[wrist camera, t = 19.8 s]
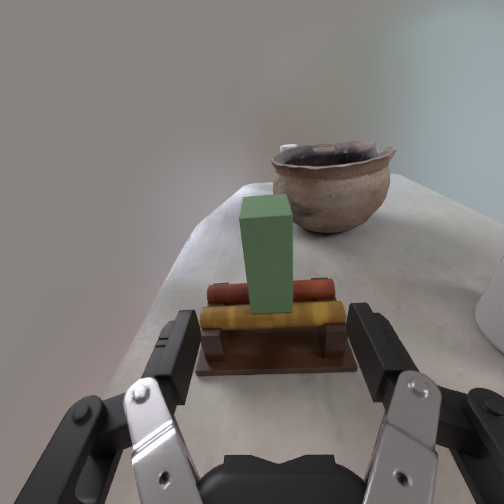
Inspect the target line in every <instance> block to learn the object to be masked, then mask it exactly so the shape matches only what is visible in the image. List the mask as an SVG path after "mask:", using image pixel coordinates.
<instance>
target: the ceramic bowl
mask: <svg viewBox="0 0 504 504" xmlns="http://www.w3.org/2000/svg"><path fill="white" fill-rule="evenodd" d="M395 152H396V150H395V148H393V147H392V146H391V147H387V148H386V149H385V150H384V151H383V152H382V153H379V150H378V146H377V143H370V142H347V143H336V144H319V145H305V146H300V147H296V148H291V149H288V150H285V151H282V152H280V153H278V154H276V155H274V156H273V157H272V158H271V162H272V165H273V166H274V168H275V170H276V171H275V175H274V180H273V193H274V195H277V194H286V195H287V198H288V201H289V205H290V208H291V211H292V215H293V222H294V223H295V224H297V225H298V226H300V227H302V228H304V229H307V230H310V231H314V232H323V233H336V232H343V231H347V230H349V229H352V228H354V227H356V226H358V225H360V224H362V223H364V222H365V221H367V219H368V218H369V217H370V216H371V215H372V214H373V213H374V212H375V211H376V210H377V209H378V208H379V207H380V206H381V205H382V203H383V201H384V200H385V198H386V195H387V191H388V188H389V184H390V173H389V167H388V165H389V162H390V160H391V159H392V157H393V155H394V153H395Z"/></svg>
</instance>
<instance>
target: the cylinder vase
mask: <svg viewBox="0 0 504 504" xmlns="http://www.w3.org/2000/svg"><path fill="white" fill-rule="evenodd" d="M475 318H476V322H477V324H478V326H479V328H480V330H481V331H482V333H483V334H484V336H485V337H486V338H487V339H488V340H489V341H490V342H491V343H492V344H493V345H494V346H495V347H496V348H497V349H498V350H499V351H500V352H502V353H503V354H504V256H503V258H502V260H501V261H500V263H499V265H498V267H497V269H496V271H495V272H494V274H493V276H492V278H491V280H490V282H489V284H488V285H487V287H486V289H485V291H484V293H483V295H482V296H481V298H480V300H479V302H478V304H477V306H476V308H475Z"/></svg>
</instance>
